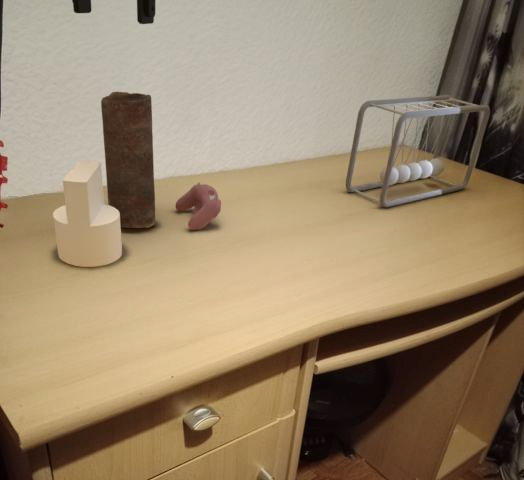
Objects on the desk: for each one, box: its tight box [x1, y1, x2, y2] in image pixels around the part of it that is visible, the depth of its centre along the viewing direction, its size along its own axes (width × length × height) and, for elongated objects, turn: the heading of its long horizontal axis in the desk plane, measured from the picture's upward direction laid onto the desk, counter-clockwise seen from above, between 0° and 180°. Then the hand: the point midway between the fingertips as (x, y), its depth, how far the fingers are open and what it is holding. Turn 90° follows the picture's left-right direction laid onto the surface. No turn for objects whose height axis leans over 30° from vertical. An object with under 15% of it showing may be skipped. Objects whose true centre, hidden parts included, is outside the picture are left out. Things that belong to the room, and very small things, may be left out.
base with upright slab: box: [52, 160, 123, 268], centre depth 76 cm, size 9×9×12 cm
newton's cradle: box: [345, 94, 491, 208], centre depth 112 cm, size 30×10×18 cm, turn 129°
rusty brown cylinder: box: [100, 91, 157, 229], centre depth 83 cm, size 8×7×20 cm
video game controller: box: [174, 182, 222, 231], centre depth 92 cm, size 10×5×7 cm, turn 22°
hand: (113, 18), depth 73 cm, fingers open, 9 cm apart
